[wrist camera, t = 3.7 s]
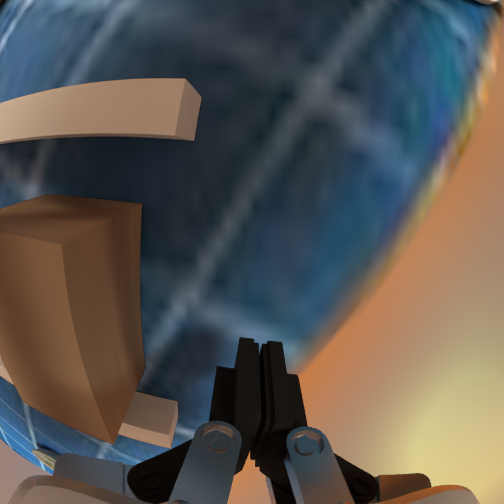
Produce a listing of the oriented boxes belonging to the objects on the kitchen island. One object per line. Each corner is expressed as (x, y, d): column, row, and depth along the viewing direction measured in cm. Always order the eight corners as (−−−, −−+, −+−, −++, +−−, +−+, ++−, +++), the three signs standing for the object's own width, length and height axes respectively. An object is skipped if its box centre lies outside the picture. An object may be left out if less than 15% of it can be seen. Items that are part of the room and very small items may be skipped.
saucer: (62, 466, 26) (58, 475, 24) (27, 435, 23) (22, 444, 21) (98, 478, 25) (95, 489, 23) (61, 448, 22) (55, 459, 20)
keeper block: (142, 203, 11) (62, 245, 6) (145, 367, 15) (113, 444, 9) (48, 193, 11) (-35, 222, 5) (67, 343, 14) (23, 402, 9)
